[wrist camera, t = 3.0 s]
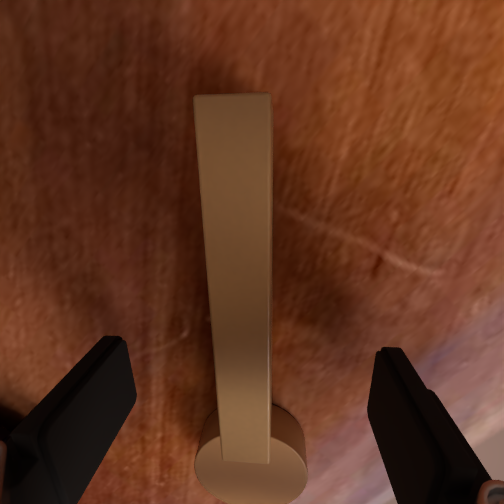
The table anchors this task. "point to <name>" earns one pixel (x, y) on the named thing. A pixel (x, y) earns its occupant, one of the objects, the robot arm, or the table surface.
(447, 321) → the table surface
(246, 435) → the spoon
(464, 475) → the robot arm
